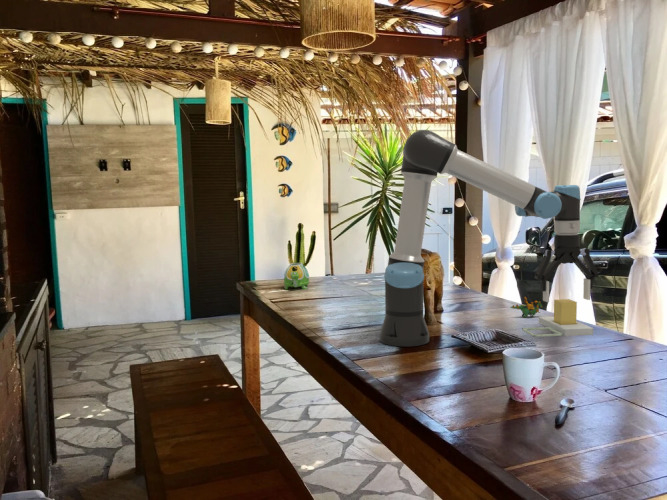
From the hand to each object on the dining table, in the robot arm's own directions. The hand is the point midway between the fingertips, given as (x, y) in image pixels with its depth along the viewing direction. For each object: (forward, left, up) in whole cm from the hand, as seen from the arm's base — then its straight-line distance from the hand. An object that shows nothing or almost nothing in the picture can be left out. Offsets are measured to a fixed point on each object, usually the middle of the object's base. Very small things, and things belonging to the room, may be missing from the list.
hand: (566, 300), depth 185 cm
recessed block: (0, 0, -10) cm, 10 cm away
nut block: (0, 0, -9) cm, 9 cm away
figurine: (-5, +18, -10) cm, 22 cm away
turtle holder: (-83, +101, -11) cm, 131 cm away
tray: (-10, -4, -10) cm, 15 cm away
